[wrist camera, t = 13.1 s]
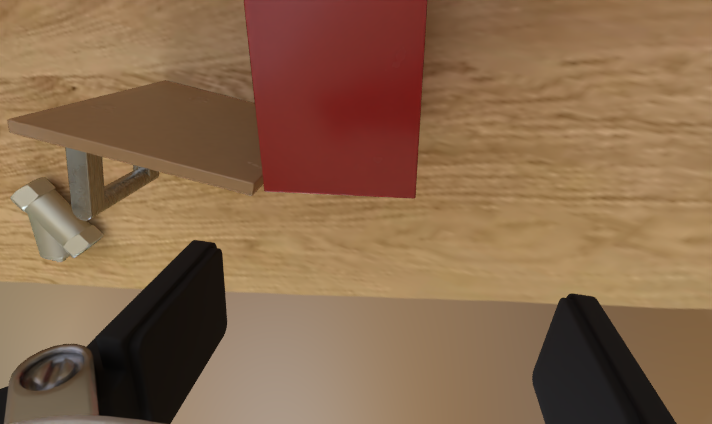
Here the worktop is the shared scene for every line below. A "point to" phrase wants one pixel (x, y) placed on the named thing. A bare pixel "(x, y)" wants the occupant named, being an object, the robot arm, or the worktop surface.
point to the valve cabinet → (338, 94)
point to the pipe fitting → (54, 221)
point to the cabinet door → (150, 141)
